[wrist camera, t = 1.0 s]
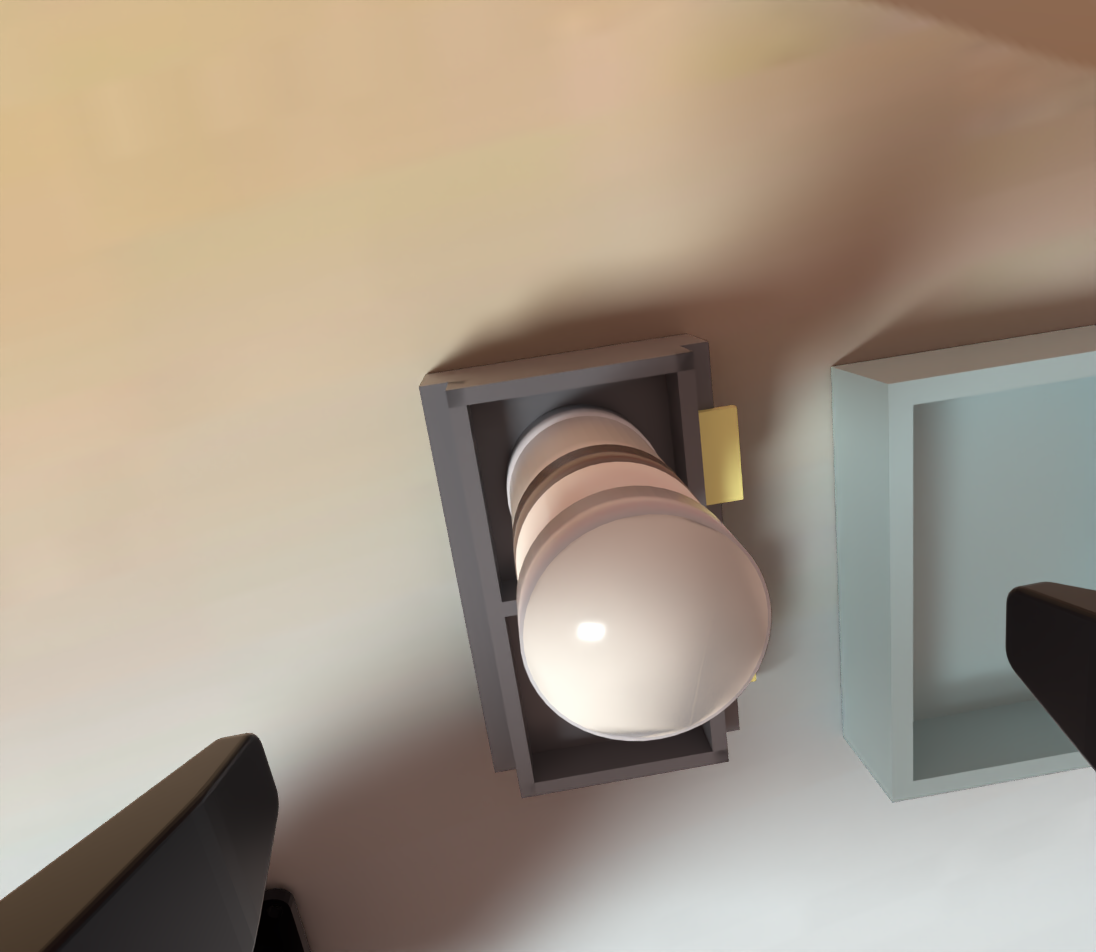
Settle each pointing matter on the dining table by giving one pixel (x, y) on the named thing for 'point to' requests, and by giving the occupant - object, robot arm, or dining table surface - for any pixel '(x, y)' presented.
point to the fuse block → (487, 534)
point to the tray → (958, 550)
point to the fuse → (626, 582)
